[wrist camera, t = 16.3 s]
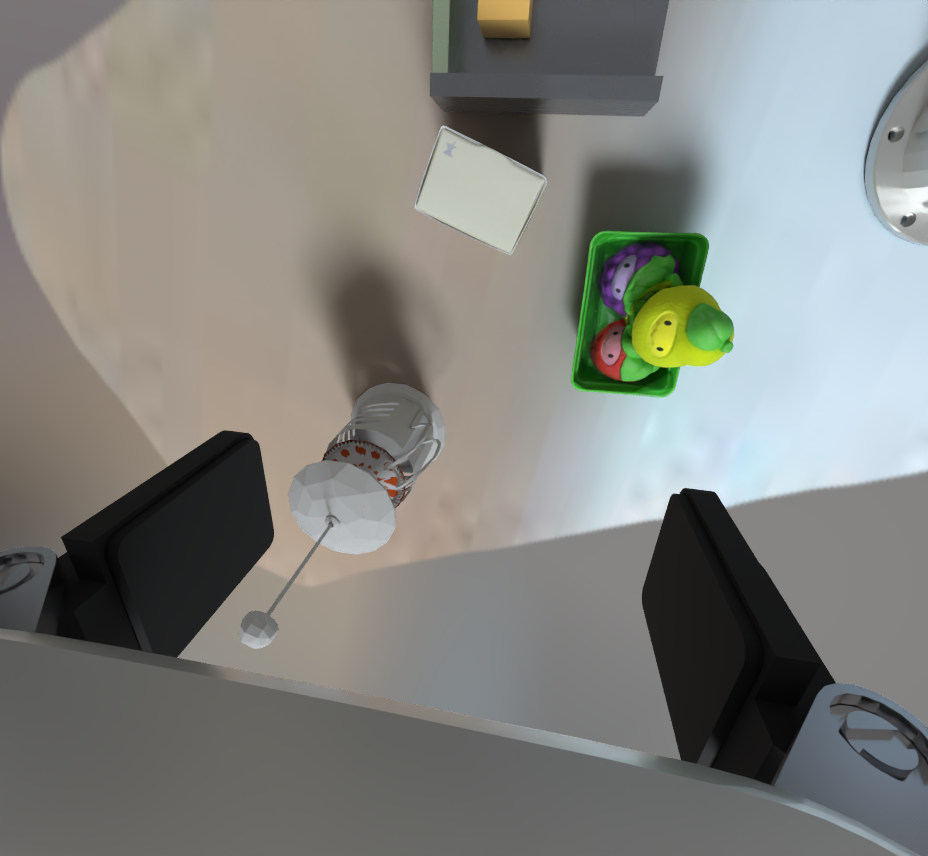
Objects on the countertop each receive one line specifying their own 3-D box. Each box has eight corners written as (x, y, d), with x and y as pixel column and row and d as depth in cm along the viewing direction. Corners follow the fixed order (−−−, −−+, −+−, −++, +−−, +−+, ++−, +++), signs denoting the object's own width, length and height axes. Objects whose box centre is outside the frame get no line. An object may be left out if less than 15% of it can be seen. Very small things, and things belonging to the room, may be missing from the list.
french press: (331, 409, 45) (118, 600, 22) (426, 355, 41) (281, 523, 18) (386, 485, 48) (246, 722, 25) (480, 442, 44) (411, 678, 21)
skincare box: (448, 210, 35) (405, 207, 24) (471, 151, 33) (435, 118, 22) (521, 247, 36) (511, 259, 25) (548, 190, 34) (550, 177, 23)
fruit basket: (584, 228, 34) (601, 232, 24) (707, 232, 33) (778, 238, 23) (566, 370, 39) (573, 423, 29) (672, 378, 38) (718, 436, 28)
